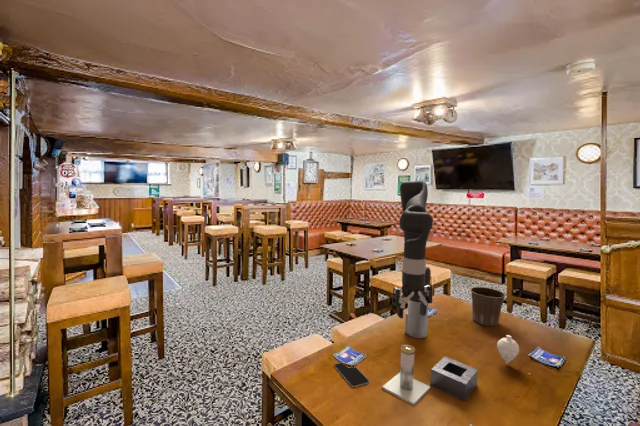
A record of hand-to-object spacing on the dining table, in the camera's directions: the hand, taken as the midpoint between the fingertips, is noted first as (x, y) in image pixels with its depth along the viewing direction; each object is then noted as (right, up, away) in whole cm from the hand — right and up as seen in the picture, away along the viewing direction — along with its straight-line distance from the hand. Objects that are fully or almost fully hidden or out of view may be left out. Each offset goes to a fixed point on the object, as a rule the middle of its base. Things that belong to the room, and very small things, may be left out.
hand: (411, 316), depth 110 cm
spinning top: (+44, -26, +18) cm, 54 cm away
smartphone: (-20, -25, +10) cm, 34 cm away
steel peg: (-1, -25, +2) cm, 25 cm away
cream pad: (-1, -26, +2) cm, 26 cm away
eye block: (+16, -26, +4) cm, 31 cm away
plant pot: (+56, -22, +59) cm, 84 cm away
